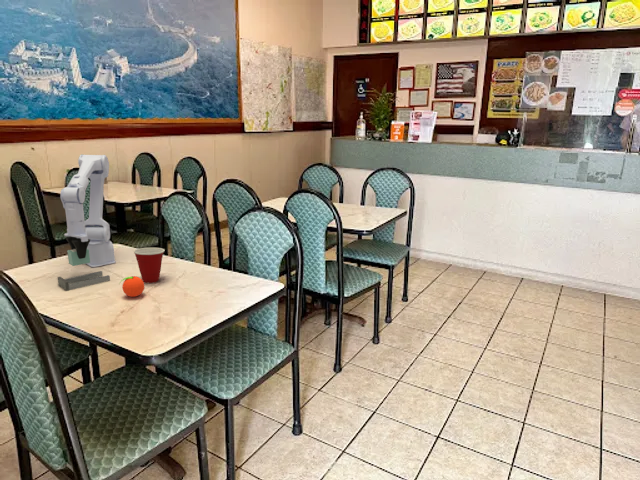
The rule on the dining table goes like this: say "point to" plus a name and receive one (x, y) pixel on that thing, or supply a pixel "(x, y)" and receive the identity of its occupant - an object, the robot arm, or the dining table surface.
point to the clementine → (133, 286)
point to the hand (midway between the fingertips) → (79, 256)
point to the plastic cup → (149, 263)
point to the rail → (66, 282)
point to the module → (75, 260)
